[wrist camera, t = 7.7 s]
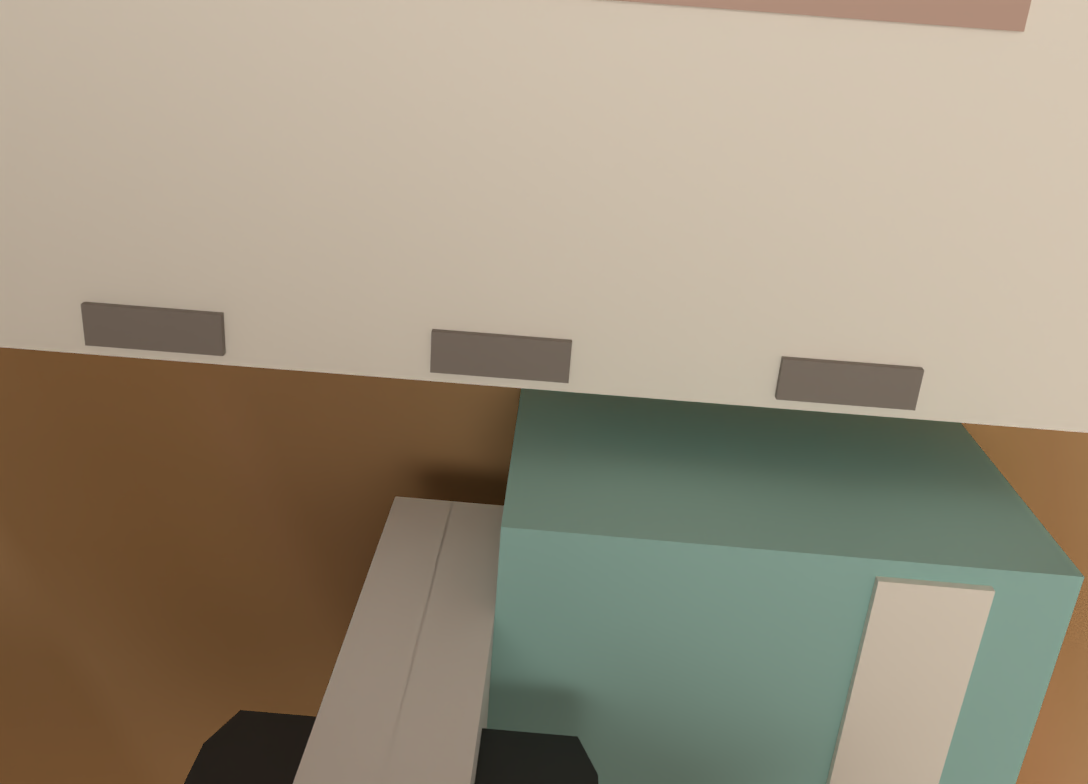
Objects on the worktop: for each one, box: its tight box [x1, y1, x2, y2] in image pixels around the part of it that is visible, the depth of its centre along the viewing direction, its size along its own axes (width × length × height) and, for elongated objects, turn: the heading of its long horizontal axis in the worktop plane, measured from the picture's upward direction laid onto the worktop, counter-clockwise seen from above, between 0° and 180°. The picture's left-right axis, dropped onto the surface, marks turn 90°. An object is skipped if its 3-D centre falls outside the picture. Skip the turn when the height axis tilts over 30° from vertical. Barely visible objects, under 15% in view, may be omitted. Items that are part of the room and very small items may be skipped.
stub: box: [487, 388, 1084, 784], centre depth 13 cm, size 6×5×4 cm
